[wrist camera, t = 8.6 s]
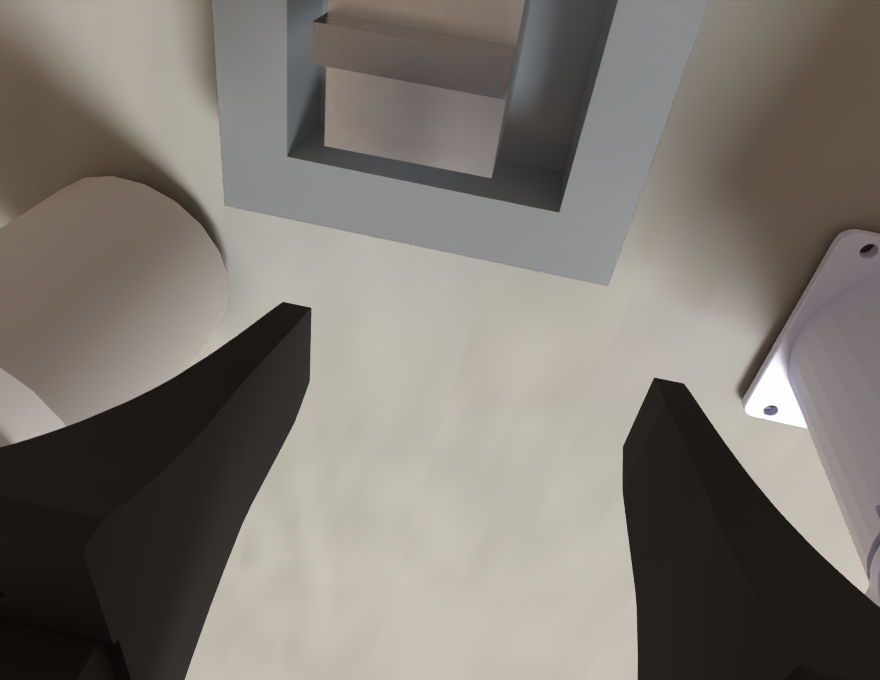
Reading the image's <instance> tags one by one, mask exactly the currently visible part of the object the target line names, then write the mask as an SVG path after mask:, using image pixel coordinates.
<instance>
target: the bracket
mask: <svg viewBox="0 0 880 680" xmlns="http://www.w3.org/2000/svg"><path fill="white" fill-rule="evenodd" d="M530 6H531V0H328V12H327V13H325V14H324V15H322V16H320V17H319V18H317V19H316V20H314V21H312V64H315V65H320V66H326V98H325V140H324V146H327V147H332V148H337V149H343V150H348V151H353V152H358V153H363V154H369V155H374V156H379V157H384V158H389V159H394V160H400V161H405V162H410V163H415V164H420V165H425V166H431V167H436V168H441V169H446V170H451V171H457V172H462V173H467V174H472V175H477V176H482V177H488V178H492V174H493V170H494V167H495V163H496V159H497V155H498V152H499V148H500V144H501V140H502V137H503V133H504V129H505V125H506V122H507V118H508V114H509V110H510V106H511V103H512V98H513V93H514V88H515V83H516V78H517V72H518V67H519V62H520V57H521V52H522V47H523V42H524V36H525V31H526V26H527V21H528V16H529V11H530Z"/></svg>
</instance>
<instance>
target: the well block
mask: <svg viewBox="0 0 880 680" xmlns="http://www.w3.org/2000/svg"><path fill="white" fill-rule="evenodd" d="M708 2H709V0H531V6H530V11H529V16H528V21H527V26H526V31H525V36H524V42H523V47H522V52H521V57H520V62H519V67H518V72H517V78H516V83H515V88H514V93H513V98H512V103H511V106H510V110H509V114H508V118H507V122H506V125H505V129H504V133H503V137H502V140H501V144H500V148H499V152H498V155H497V159H496V163H495V167H494V170H493V174H492V178H488V177H482V176H477V175H472V174H467V173H462V172H457V171H451V170H446V169H441V168H436V167H431V166H425V165H420V164H415V163H410V162H405V161H400V160H394V159H389V158H384V157H379V156H374V155H369V154H363V153H358V152H353V151H348V150H343V149H337V148H332V147H327V146H324V140H325V98H326V66H320V65H315V64H312V21H314V20H316V19H317V18H319V17H320V16H322V15H324V14H325V13H327V12H328V0H212V15H213V30H214V46H215V62H216V78H217V93H218V109H219V125H220V140H221V156H222V172H223V188H224V203H225V206H229V207H234V208H239V209H244V210H248V211H253V212H258V213H263V214H268V215H272V216H277V217H282V218H287V219H291V220H296V221H301V222H306V223H310V224H315V225H320V226H325V227H329V228H334V229H339V230H344V231H348V232H353V233H358V234H363V235H368V236H372V237H377V238H382V239H387V240H391V241H396V242H401V243H406V244H410V245H415V246H420V247H425V248H429V249H434V250H439V251H444V252H448V253H453V254H458V255H463V256H467V257H472V258H477V259H482V260H487V261H491V262H496V263H501V264H506V265H510V266H515V267H520V268H525V269H529V270H534V271H539V272H544V273H548V274H553V275H558V276H563V277H567V278H572V279H577V280H582V281H587V282H591V283H596V284H601V285H606V286H608V285H609V282H610V279H611V277H612V274H613V271H614V268H615V265H616V262H617V260H618V257H619V254H620V251H621V248H622V246H623V243H624V240H625V237H626V234H627V231H628V229H629V226H630V223H631V220H632V217H633V214H634V212H635V209H636V206H637V203H638V200H639V197H640V195H641V192H642V189H643V186H644V183H645V180H646V178H647V175H648V172H649V169H650V166H651V163H652V161H653V158H654V155H655V152H656V149H657V147H658V144H659V141H660V138H661V135H662V132H663V130H664V127H665V124H666V121H667V118H668V115H669V113H670V110H671V107H672V104H673V101H674V98H675V96H676V93H677V90H678V87H679V84H680V81H681V79H682V76H683V73H684V70H685V67H686V64H687V62H688V59H689V56H690V53H691V50H692V48H693V45H694V42H695V39H696V36H697V33H698V31H699V28H700V25H701V22H702V19H703V16H704V14H705V11H706V8H707V5H708Z"/></svg>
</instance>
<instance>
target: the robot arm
mask: <svg viewBox="0 0 880 680" xmlns="http://www.w3.org/2000/svg"><path fill="white" fill-rule="evenodd" d="M868 244H874V246H873V248H872V249H871V250H870V251H868V252H865V253H860V250H861V249H862V248H863V247H864V246H865V245H868ZM310 342H311V308H309V307H304V306H300V305H295V304H290V303H285V302H283V303H281V304H279V305H278V306H277V307H275V308H274V309H272V310H271V311H270V312H268V313H267V314H266V315H264V316H263V317H262V318H260V319H259V320H258V321H256V322H255V323H254V324H252V325H251V326H250V327H248V328H247V329H246V330H244V331H243V332H242V333H240V334H239V335H238V336H236V337H235V338H233V339H232V340H230V341H229V342H228V343H226V344H225V345H223V346H222V347H220V348H219V349H218V350H216V351H215V352H213V353H212V354H210V355H209V356H207V357H206V358H204V359H203V360H201V361H199V362H198V363H196V364H195V365H193V366H191V367H190V368H188V369H187V370H185V371H183V372H182V373H180V374H179V375H177V376H175V377H174V378H172V379H170V380H168V381H167V382H165V383H163V384H161V385H159V386H158V387H156V388H154V389H152V390H150V391H148V392H146V393H144V394H142V395H140V396H138V397H136V398H134V399H132V400H129V401H127V402H125V403H123V404H120V405H118V406H116V407H113V408H111V409H109V410H106V411H104V412H101V413H99V414H97V415H94V416H92V417H90V418H87V419H85V420H82V421H80V422H77V423H74V424H72V425H69V426H66V427H63V428H61V429H58V430H55V431H52V432H49V433H46V434H43V435H40V436H37V437H34V438H31V439H27V440H24V441H21V442H18V443H14V444H11V445H7V446H3V447H0V680H185V677H186V674H187V671H188V668H189V665H190V662H191V659H192V656H193V653H194V650H195V648H196V645H197V642H198V639H199V636H200V634H201V631H202V628H203V625H204V622H205V620H206V617H207V614H208V611H209V608H210V606H211V603H212V600H213V598H214V595H215V593H216V590H217V587H218V585H219V582H220V579H221V577H222V574H223V571H224V569H225V566H226V563H227V561H228V558H229V556H230V553H231V551H232V548H233V546H234V543H235V541H236V538H237V536H238V533H239V531H240V528H241V526H242V523H243V521H244V519H245V517H246V515H247V513H248V511H249V508H250V506H251V504H252V502H253V501H254V499H255V497H256V495H257V493H258V491H259V489H260V487H261V485H262V483H263V482H264V480H265V478H266V476H267V474H268V472H269V470H270V468H271V466H272V465H273V463H274V461H275V459H276V457H277V455H278V453H279V451H280V449H281V447H282V445H283V444H284V442H285V440H286V438H287V436H288V434H289V432H290V430H291V428H292V426H293V424H294V422H295V420H296V417H297V414H298V412H299V409H300V407H301V404H302V401H303V398H304V395H305V393H306V390H307V387H308V384H309V381H310ZM770 405H774V407H773V408H770V409H765V407H767V406H770ZM742 406H743V409H744V412H745V413H746V414H747V415H750V416H753V417H758V418H762V419H767V420H772V421H776V422H781V423H785V424H790V425H795V426H799V427H804V428H808V430H809V433H810V435H811V438H812V440H813V443H814V445H815V448H816V450H817V453H818V455H819V458H820V460H821V463H822V465H823V468H824V470H825V473H826V475H827V478H828V480H829V483H830V485H831V488H832V490H833V492H834V495H835V497H836V500H837V502H838V505H839V507H840V510H841V512H842V515H843V517H844V520H845V522H846V525H847V527H848V530H849V532H850V535H851V537H852V540H853V542H854V545H855V547H856V550H857V552H858V555H859V557H860V560H861V562H862V565H863V567H864V570H865V572H866V575H867V577H868V580H869V588H868V590H867V592H866V593H865V594H863V593H862V592H861V591H860V590H859V589H858V588H856V587H855V586H854V585H853V584H852V583H851V582H850V581H849V580H847V579H846V578H845V577H844V576H843V575H842V574H841V573H840V572H839V571H838V570H837V569H835V568H834V567H833V566H832V565H831V564H830V563H829V562H828V561H827V560H826V559H825V558H824V557H822V556H821V555H820V554H819V553H818V552H817V551H816V550H815V549H814V548H813V547H812V546H811V545H810V544H809V543H808V542H807V541H806V540H805V539H804V538H803V536H802V535H801V534H800V533H799V532H798V531H797V530H796V529H795V528H794V527H793V526H792V525H791V524H790V523H789V522H788V521H787V520H786V519H785V517H784V516H783V515H782V514H781V513H780V512H779V511H778V510H777V508H776V507H775V506H774V505H773V504H772V503H771V502H770V500H769V499H768V498H767V497H766V496H765V494H764V493H763V492H762V491H761V489H760V488H759V487H758V486H757V485H756V483H755V482H754V481H753V480H752V478H751V477H750V476H749V475H748V473H747V472H746V471H745V469H744V468H743V467H742V465H741V464H740V463H739V462H738V460H737V459H736V457H735V456H734V455H733V453H732V452H731V451H730V449H729V448H728V447H727V445H726V444H725V442H724V441H723V440H722V438H721V437H720V435H719V434H718V432H717V431H716V430H715V428H714V427H713V425H712V424H711V422H710V421H709V419H708V418H707V416H706V415H705V413H704V412H703V411H702V409H701V408H700V406H699V405H698V403H697V402H696V400H695V399H694V397H693V396H692V394H691V393H690V392H689V390H688V389H687V387H686V386H685V385H684V384H683V383H678V382H673V381H668V380H663V379H658V378H654V379H653V382H652V384H651V386H650V388H649V390H648V393H647V395H646V397H645V399H644V401H643V404H642V406H641V408H640V410H639V413H638V415H637V417H636V419H635V421H634V424H633V426H632V428H631V430H630V432H629V435H628V437H627V439H626V441H625V444H624V446H623V497H624V506H625V514H626V522H627V530H628V537H629V545H630V552H631V560H632V568H633V575H634V583H635V592H636V604H637V635H638V680H880V234H879V233H874V232H869V231H864V230H860V229H849V230H846V231H843V232H842V233H840V234H838V235H837V237H836V238H835V239H834V240H833V242H832V244H831V246H830V247H829V249H828V251H827V253H826V254H825V256H824V258H823V260H822V261H821V263H820V265H819V267H818V268H817V270H816V272H815V274H814V275H813V277H812V279H811V281H810V282H809V284H808V286H807V288H806V289H805V291H804V293H803V294H802V296H801V298H800V300H799V301H798V303H797V305H796V307H795V308H794V310H793V312H792V314H791V315H790V317H789V319H788V321H787V322H786V324H785V326H784V328H783V329H782V331H781V333H780V335H779V336H778V338H777V340H776V342H775V343H774V345H773V347H772V349H771V350H770V352H769V354H768V356H767V357H766V359H765V361H764V363H763V364H762V366H761V368H760V370H759V371H758V373H757V375H756V377H755V378H754V380H753V382H752V383H751V385H750V387H749V389H748V390H747V392H746V394H745V396H744V397H743V400H742Z"/></svg>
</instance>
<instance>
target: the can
mask: <svg viewBox="0 0 880 680" xmlns="http://www.w3.org/2000/svg"><path fill="white" fill-rule="evenodd" d="M228 304H229V277H228V274H227V271H226V269H225V266H224V263H223V260H222V257H221V254H220V251H219V250H218V248H217V247H216V246H215V244H214V243H213V241H212V240H211V238H210V237H209V235H208V234H207V232H206V231H205V230H204V228H203V227H202V225H201V224H200V223H199V222H198V221H197V220H195V219H194V218H193V217H192V216H191V215H190V214H189V213H188V212H187V211H186V210H184V209H183V208H182V207H181V206H180V205H179V204H178V203H177V202H176V201H174V200H172V199H170V198H169V197H167V196H165V195H163V194H161V193H160V192H158V191H156V190H154V189H152V188H150V187H149V186H147V185H145V184H142V183H138V182H134V181H130V180H126V179H123V178H119V177H115V176H104V177H86V178H83V179H81V180H78V181H76V182H74V183H72V184H70V185H68V186H66V187H64V188H62V189H61V190H59V191H57V192H56V193H54V194H53V195H51V196H50V197H48V198H47V199H45V200H44V201H42V202H41V203H39V204H37V205H36V206H34V207H33V208H31V209H30V210H28V211H27V212H25V213H24V214H22V215H20V216H19V217H17V218H16V219H14V220H13V221H11V222H10V223H8V224H7V225H5V226H4V227H2V228H0V447H3V446H7V445H11V444H14V443H18V442H21V441H24V440H27V439H31V438H34V437H37V436H40V435H43V434H46V433H49V432H52V431H55V430H58V429H61V428H63V427H66V426H69V425H72V424H74V423H77V422H80V421H82V420H85V419H87V418H90V417H92V416H94V415H97V414H99V413H101V412H104V411H106V410H109V409H111V408H113V407H116V406H118V405H120V404H123V403H125V402H127V401H129V400H132V399H134V398H136V397H138V396H140V395H142V394H144V393H146V392H148V391H150V390H152V389H154V388H156V387H158V386H159V385H161V384H163V383H165V382H167V381H168V380H170V379H172V378H174V377H175V376H177V375H179V374H180V373H182V372H183V371H184V370H185V369H186V368H187V366H188V365H189V364H190V362H191V361H192V360H193V358H194V357H195V356H196V354H197V353H198V352H199V351H200V349H201V348H202V347H203V345H204V344H205V343H206V341H207V340H208V339H209V337H210V336H211V335H212V333H213V332H214V331H215V330H216V328H217V327H218V326H219V324H220V323H221V321H222V318H223V316H224V314H225V311H226V309H227V307H228Z"/></svg>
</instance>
